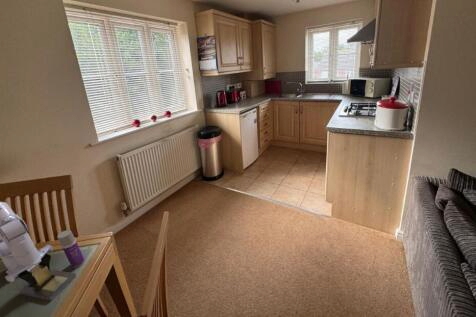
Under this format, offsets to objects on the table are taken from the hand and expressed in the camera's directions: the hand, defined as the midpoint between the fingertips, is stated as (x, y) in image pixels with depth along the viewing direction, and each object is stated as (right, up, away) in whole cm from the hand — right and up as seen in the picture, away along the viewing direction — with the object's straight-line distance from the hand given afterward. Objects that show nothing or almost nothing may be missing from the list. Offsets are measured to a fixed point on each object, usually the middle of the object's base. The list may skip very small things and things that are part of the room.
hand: (40, 278), depth 86 cm
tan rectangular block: (0, -2, +1) cm, 3 cm away
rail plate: (+3, -2, 0) cm, 4 cm away
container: (+8, +2, +9) cm, 12 cm away
